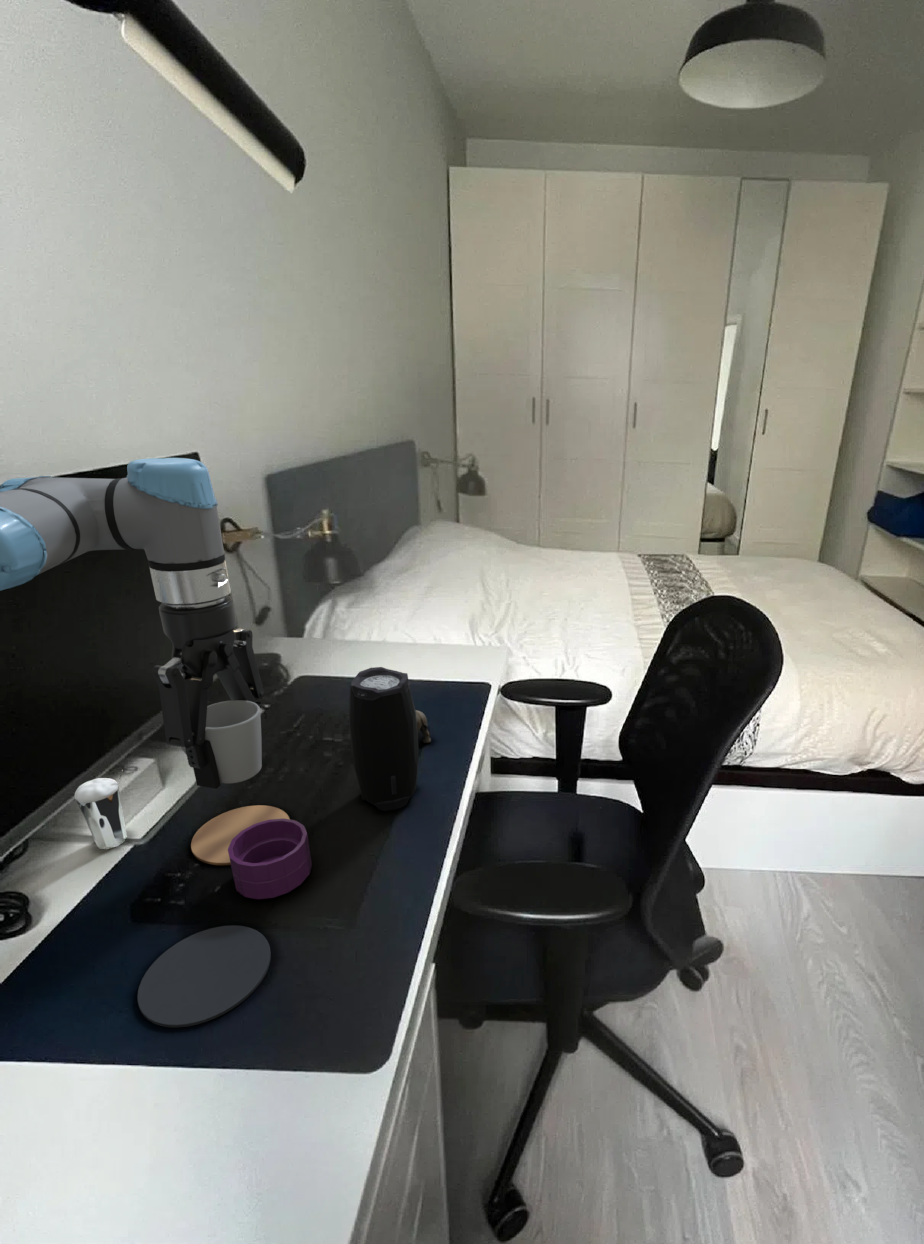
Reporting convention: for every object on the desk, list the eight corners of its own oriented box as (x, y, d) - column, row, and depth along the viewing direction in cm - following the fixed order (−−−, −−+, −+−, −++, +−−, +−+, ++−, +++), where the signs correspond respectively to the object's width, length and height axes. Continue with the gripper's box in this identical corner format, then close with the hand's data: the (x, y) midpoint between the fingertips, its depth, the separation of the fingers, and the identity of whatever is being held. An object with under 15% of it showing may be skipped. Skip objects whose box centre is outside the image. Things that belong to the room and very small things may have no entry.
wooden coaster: (169, 856, 80) (168, 854, 80) (233, 802, 91) (233, 799, 91) (252, 872, 78) (252, 870, 78) (308, 814, 89) (307, 812, 89)
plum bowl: (219, 895, 75) (211, 858, 73) (265, 848, 83) (259, 814, 80) (284, 908, 73) (278, 871, 71) (325, 859, 81) (320, 824, 79)
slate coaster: (107, 1013, 60) (106, 1010, 60) (198, 919, 71) (198, 916, 71) (217, 1040, 58) (216, 1037, 58) (294, 939, 69) (293, 936, 69)
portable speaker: (364, 780, 98) (352, 664, 90) (425, 779, 99) (418, 665, 91) (350, 813, 90) (336, 690, 82) (416, 813, 91) (409, 691, 83)
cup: (257, 788, 78) (246, 728, 74) (172, 790, 77) (157, 729, 74) (278, 755, 85) (268, 699, 81) (200, 756, 84) (188, 699, 81)
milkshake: (140, 843, 83) (122, 778, 79) (90, 857, 80) (69, 791, 76) (139, 824, 86) (122, 761, 82) (91, 837, 83) (71, 773, 79)
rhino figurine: (375, 719, 115) (373, 690, 113) (435, 739, 110) (433, 709, 107) (359, 729, 112) (356, 699, 110) (419, 750, 106) (417, 719, 104)
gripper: (155, 631, 63) (199, 820, 71) (278, 579, 81) (301, 735, 89) (91, 623, 64) (142, 810, 73) (226, 574, 82) (254, 728, 91)
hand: (229, 768), depth 81 cm, fingers closed on cup, 7 cm apart
